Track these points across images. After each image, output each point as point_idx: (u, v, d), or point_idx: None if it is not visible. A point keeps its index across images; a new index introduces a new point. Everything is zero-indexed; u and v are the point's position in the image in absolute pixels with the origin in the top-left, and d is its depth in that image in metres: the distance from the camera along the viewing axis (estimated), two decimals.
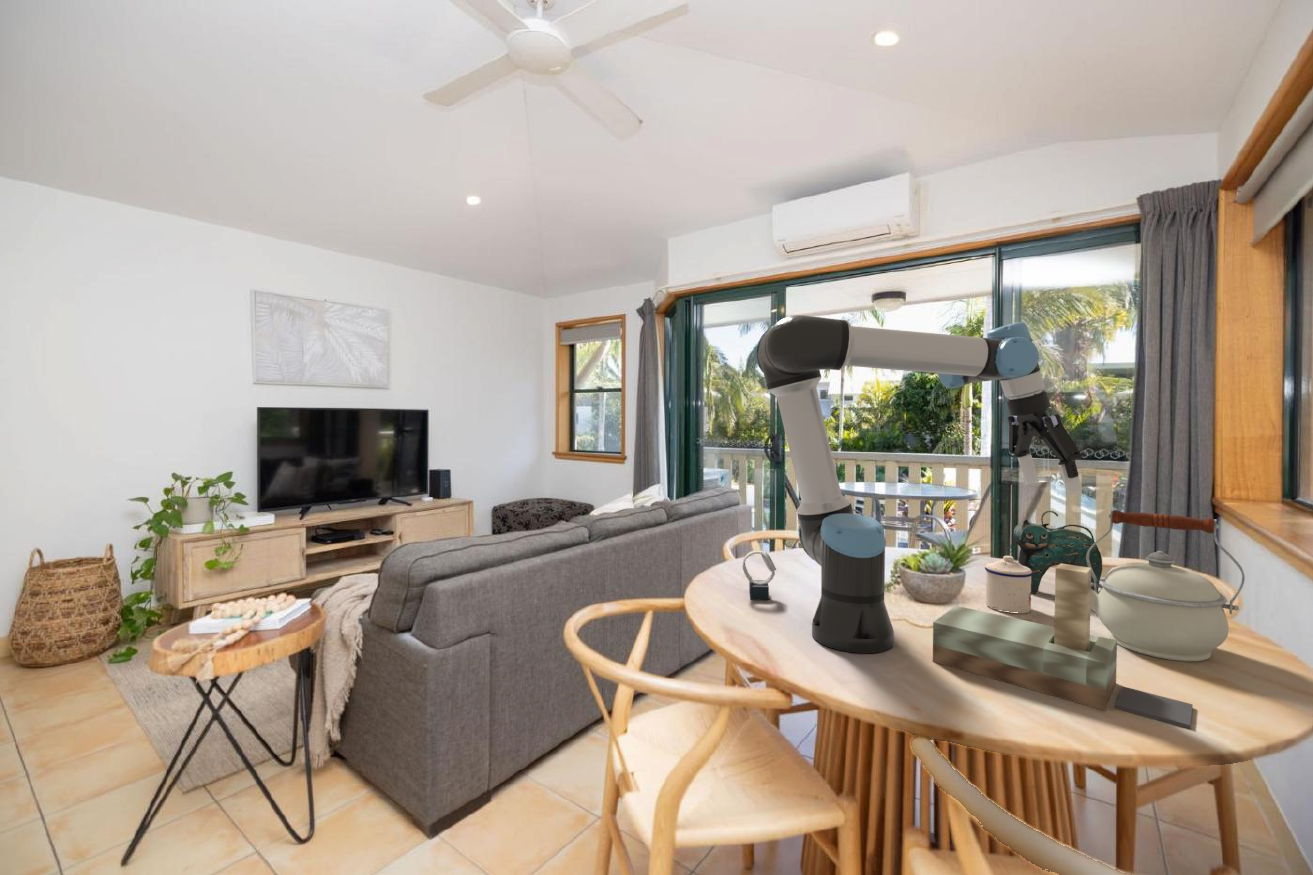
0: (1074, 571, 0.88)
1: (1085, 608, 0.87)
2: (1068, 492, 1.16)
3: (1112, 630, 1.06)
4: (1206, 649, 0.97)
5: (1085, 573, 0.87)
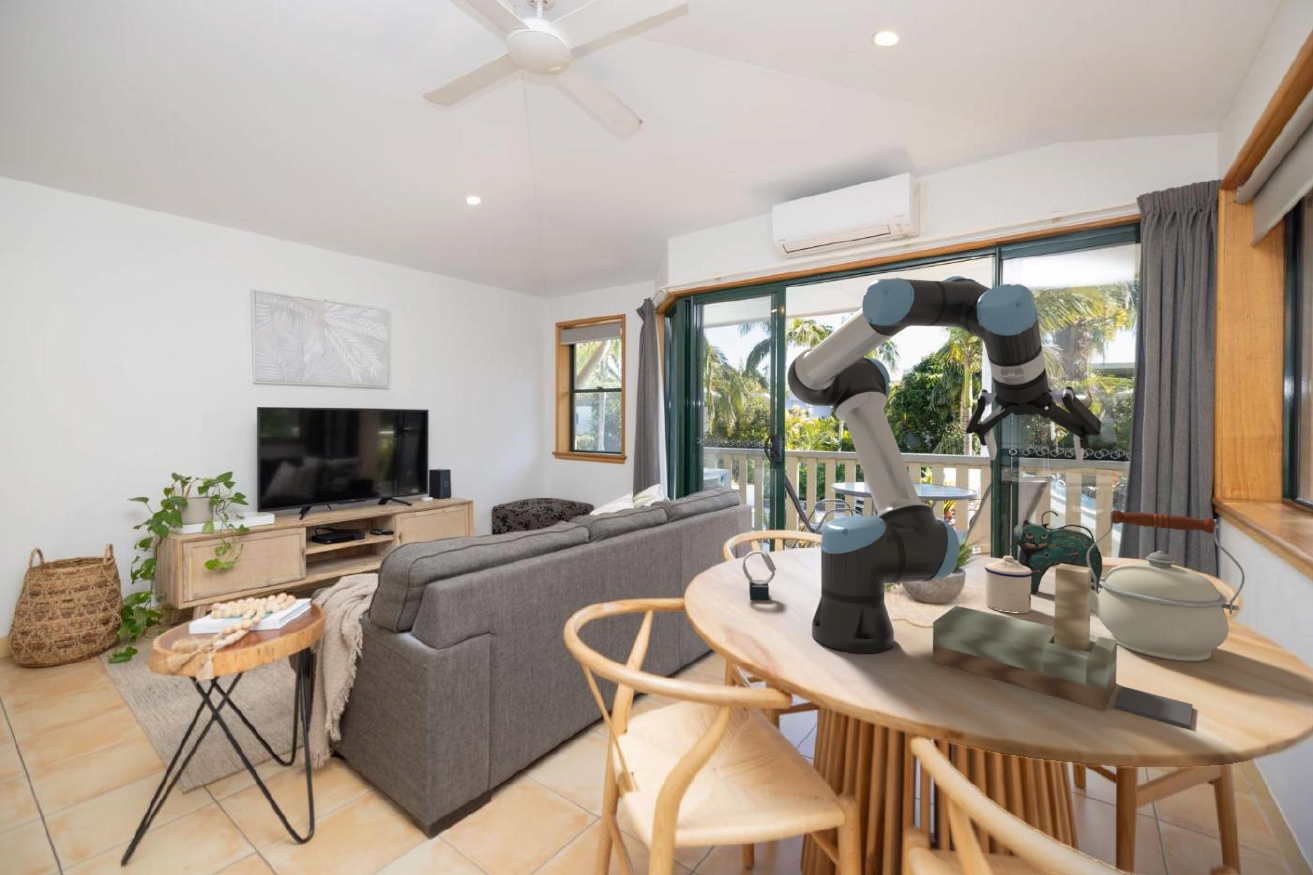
0: (1074, 571, 0.88)
1: (1085, 608, 0.87)
2: None
3: (1112, 630, 1.06)
4: (1206, 649, 0.97)
5: (1085, 573, 0.87)
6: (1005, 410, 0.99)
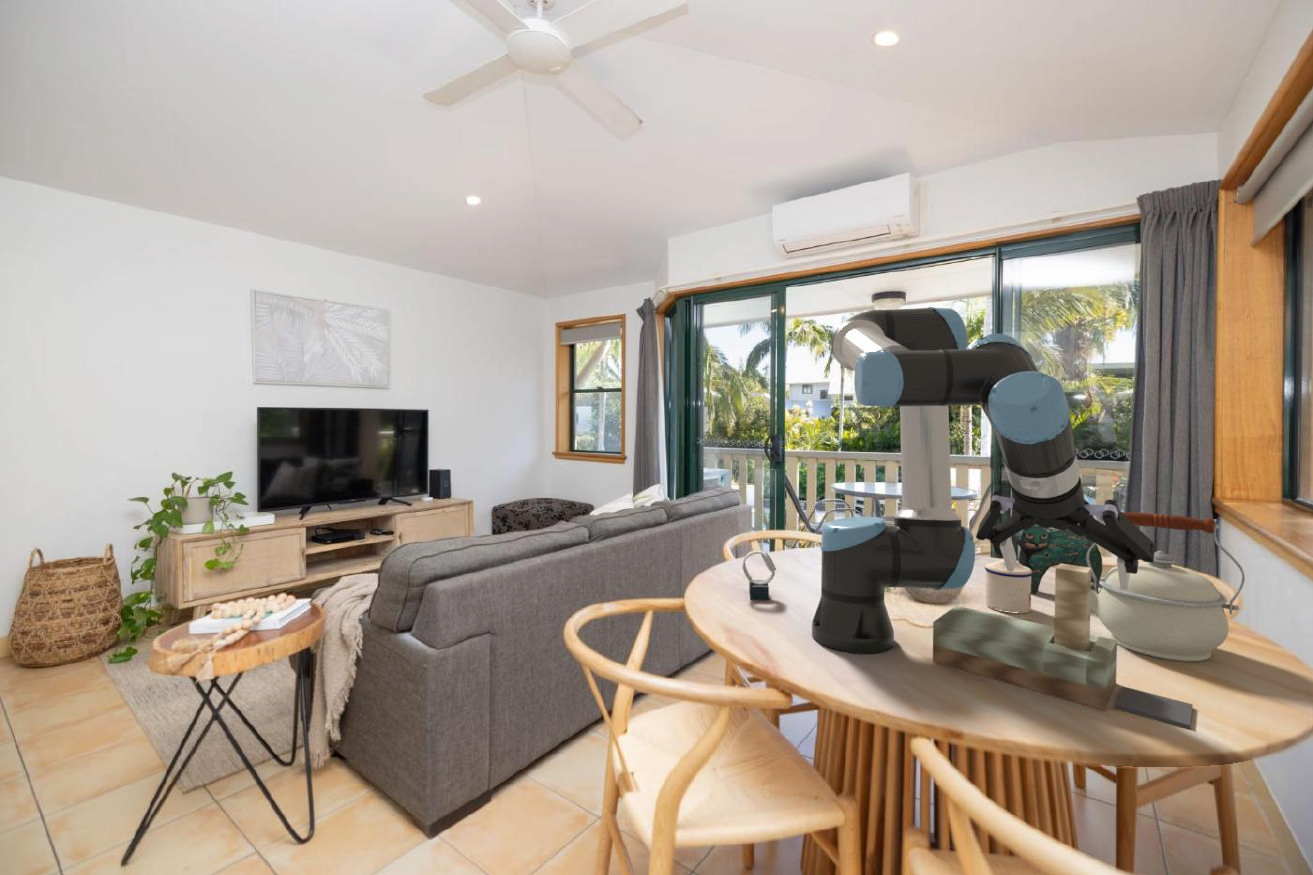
0: (1074, 571, 0.88)
1: (1085, 608, 0.87)
2: None
3: (1112, 630, 1.06)
4: (1206, 649, 0.97)
5: (1085, 573, 0.87)
6: (1026, 521, 0.77)
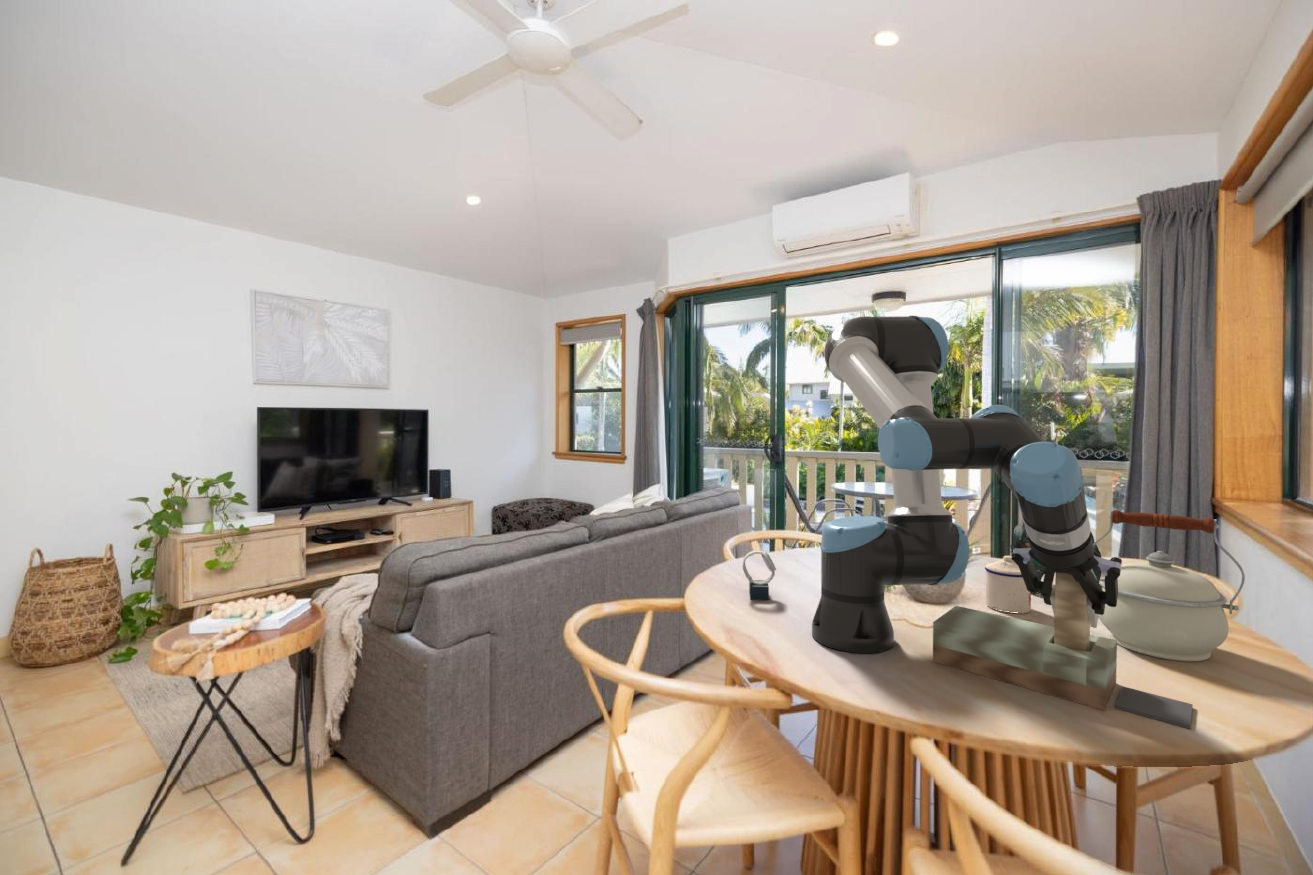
0: None
1: (1085, 608, 0.87)
2: None
3: (1112, 630, 1.06)
4: (1206, 649, 0.97)
5: None
6: (1047, 570, 0.85)
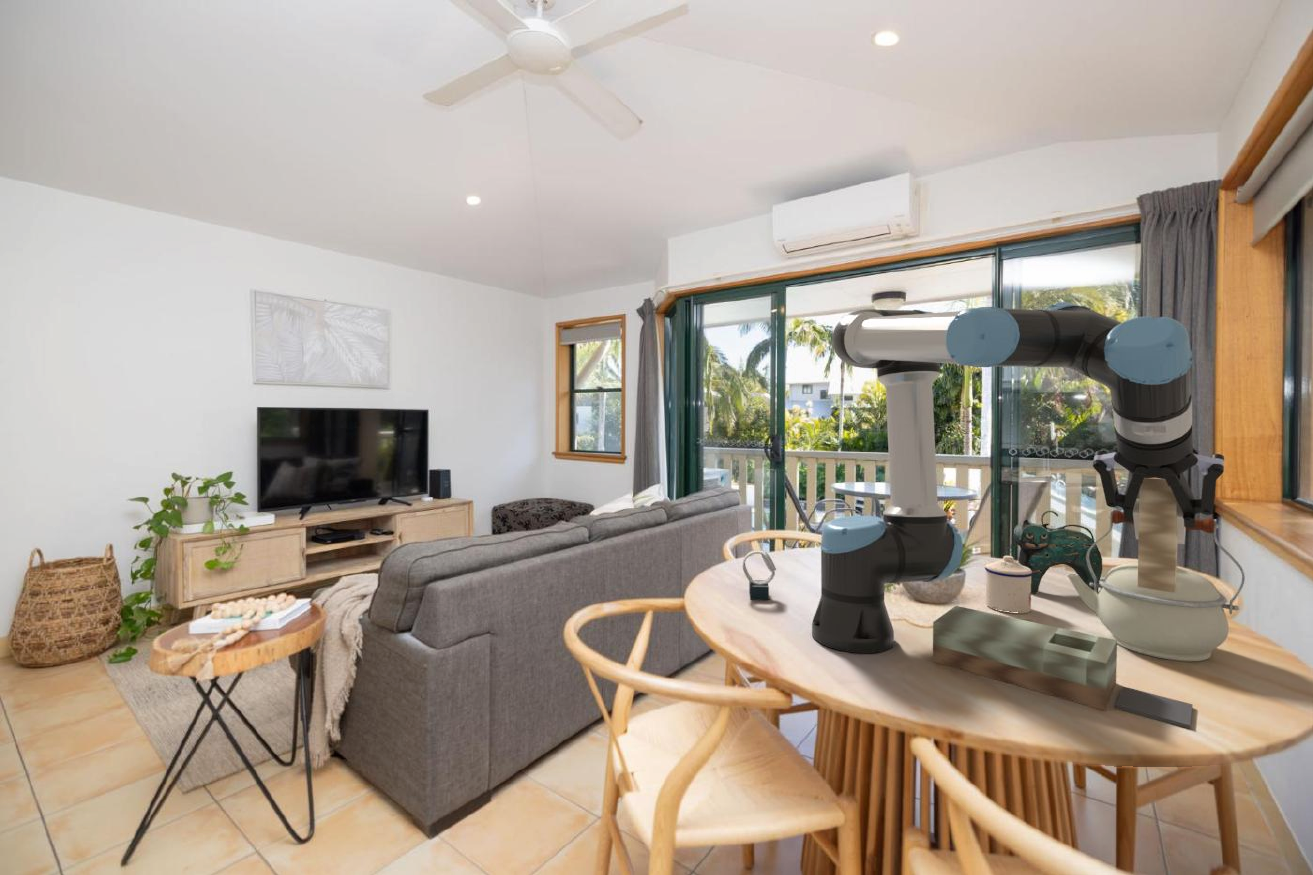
0: (1162, 479, 0.80)
1: (1175, 519, 0.79)
2: None
3: (1112, 630, 1.06)
4: (1206, 649, 0.97)
5: None
6: (1135, 475, 0.78)
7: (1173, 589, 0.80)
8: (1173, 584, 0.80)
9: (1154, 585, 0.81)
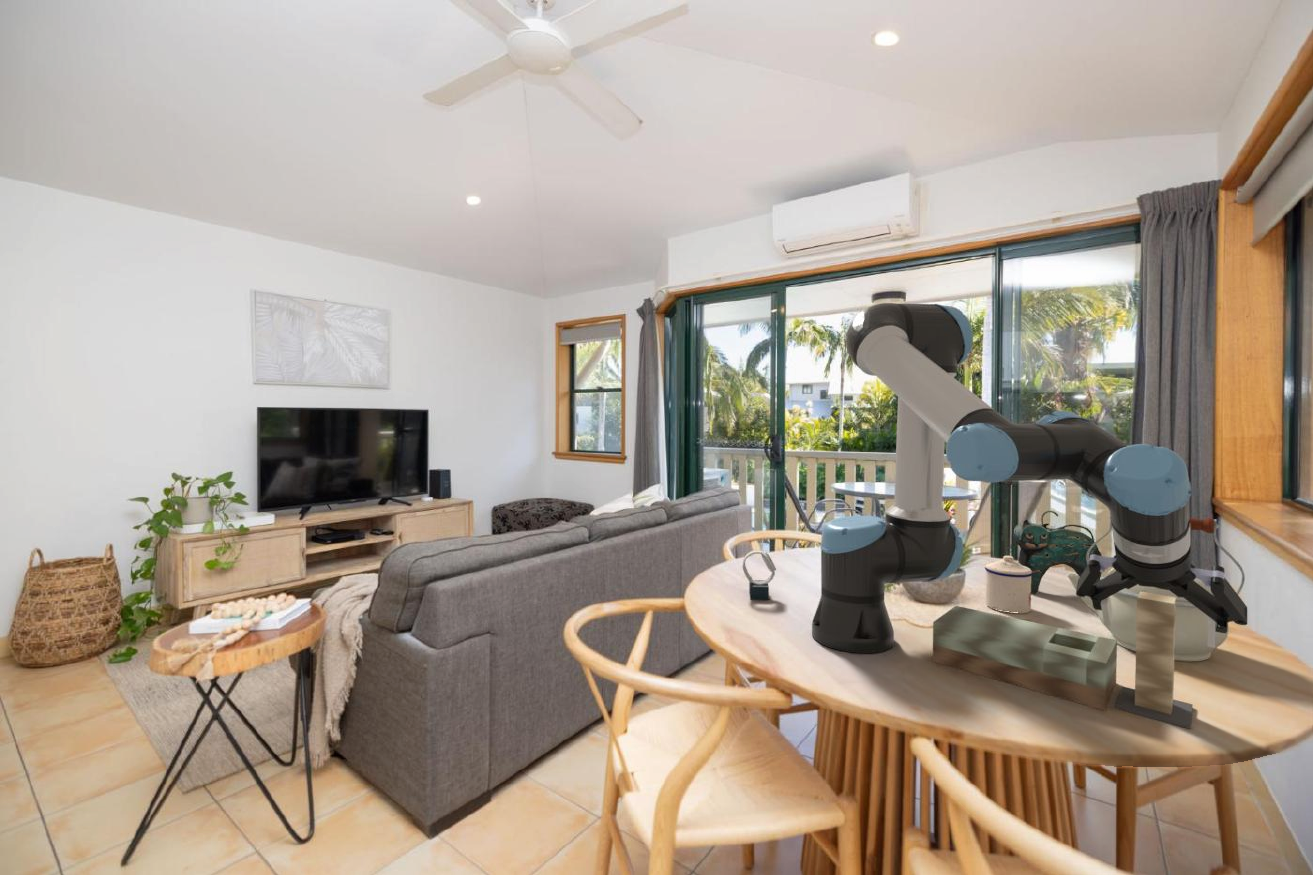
0: (1159, 601, 0.81)
1: (1172, 642, 0.80)
2: None
3: (1112, 630, 1.06)
4: (1206, 649, 0.97)
5: (1172, 604, 0.80)
6: (1128, 581, 0.78)
7: (1170, 711, 0.80)
8: (1170, 706, 0.80)
9: (1151, 705, 0.82)
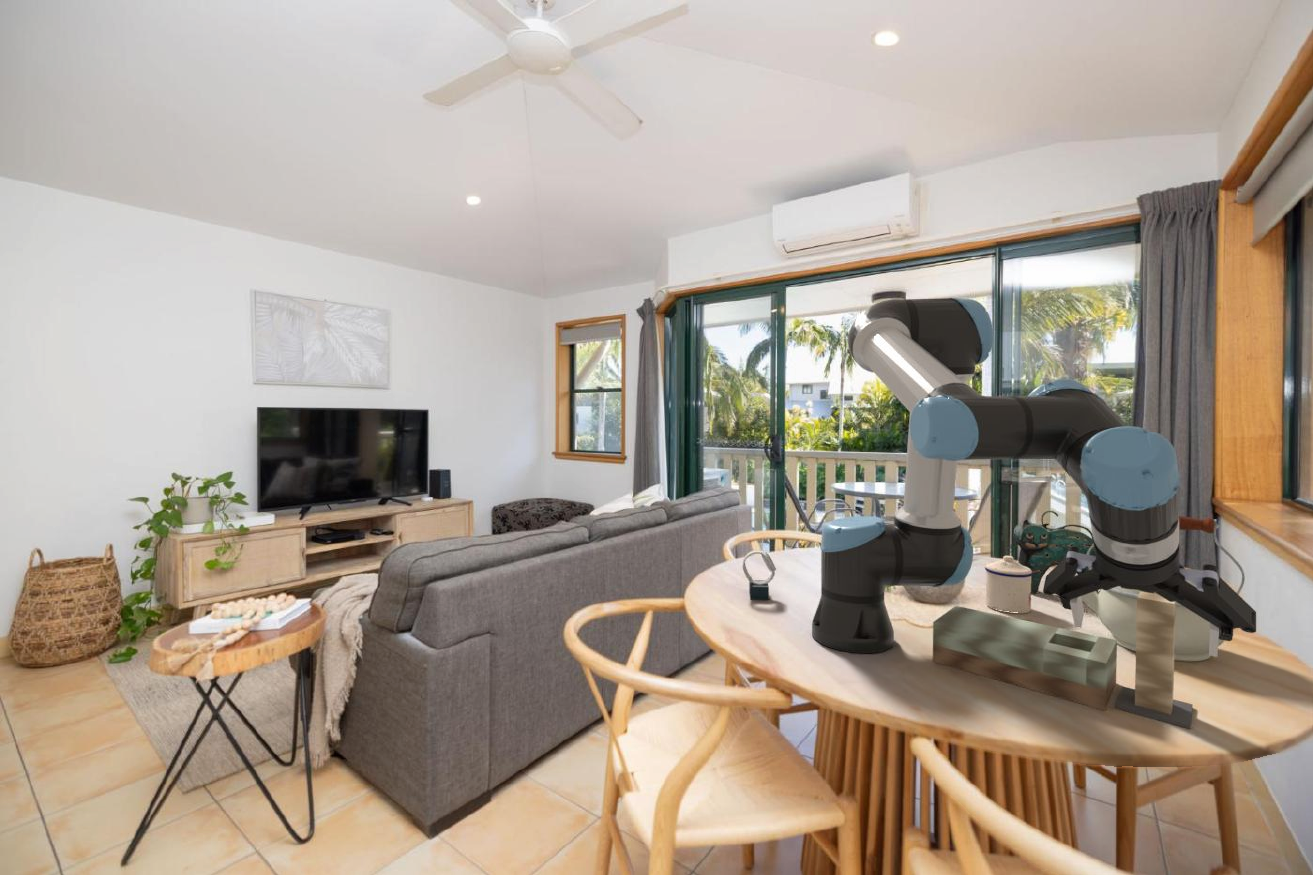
0: (1159, 601, 0.81)
1: (1172, 642, 0.80)
2: None
3: (1112, 630, 1.06)
4: (1206, 649, 0.97)
5: (1172, 604, 0.80)
6: (1108, 582, 0.69)
7: (1170, 711, 0.80)
8: (1170, 706, 0.80)
9: (1151, 705, 0.82)
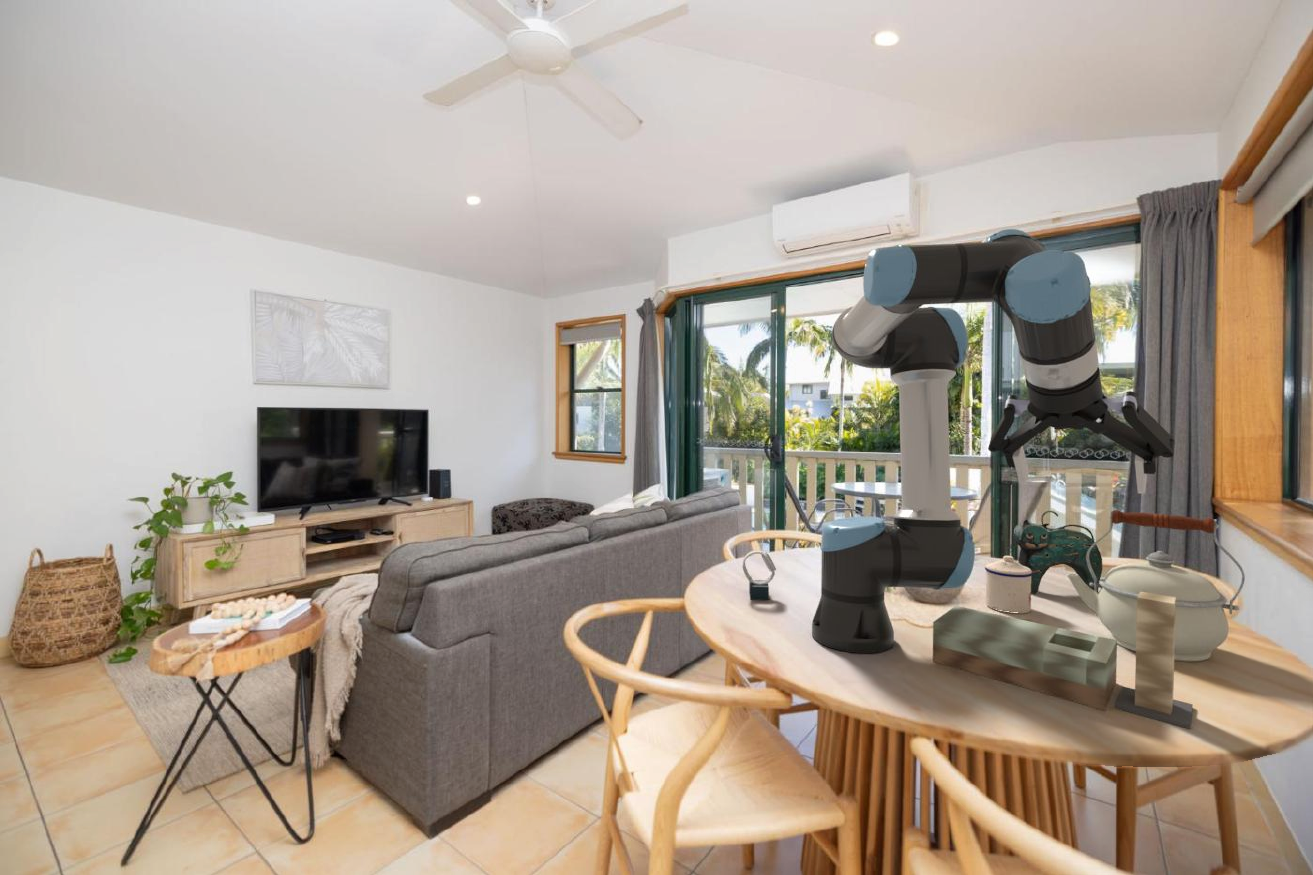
0: (1159, 601, 0.81)
1: (1172, 642, 0.80)
2: None
3: (1112, 630, 1.06)
4: (1206, 649, 0.97)
5: (1172, 604, 0.80)
6: (1041, 423, 0.75)
7: (1170, 711, 0.80)
8: (1170, 706, 0.80)
9: (1151, 705, 0.82)
